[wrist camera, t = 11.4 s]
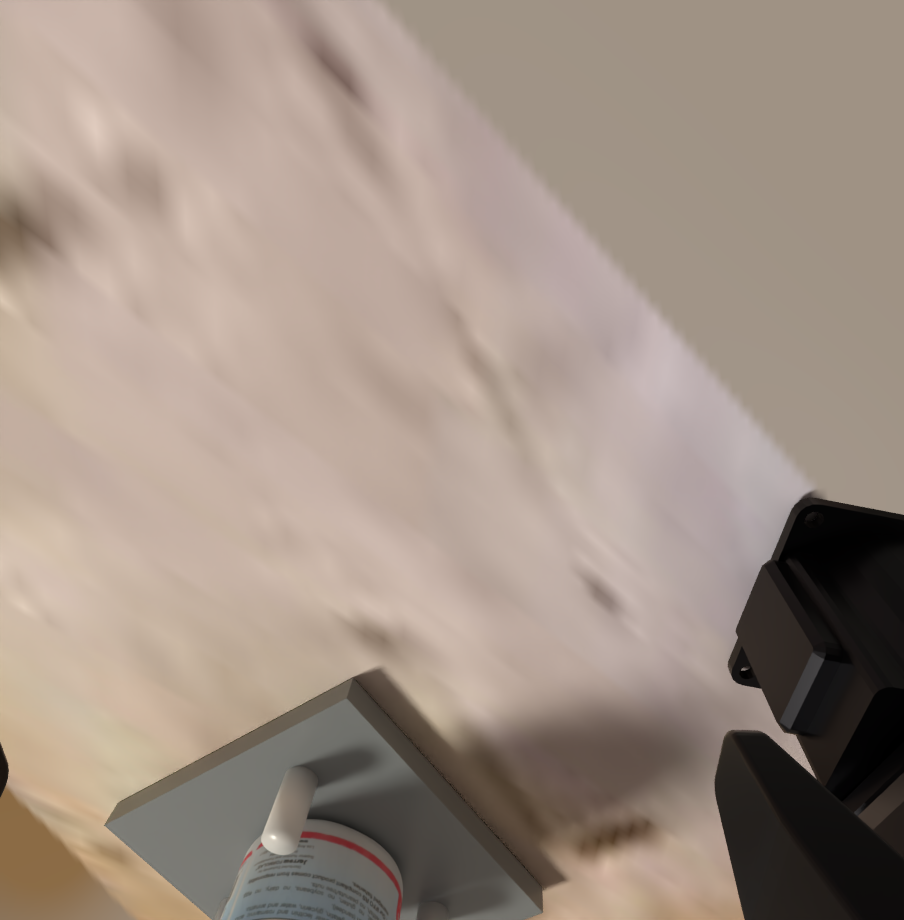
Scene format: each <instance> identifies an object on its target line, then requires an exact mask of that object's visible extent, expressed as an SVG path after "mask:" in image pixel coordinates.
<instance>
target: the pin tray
mask: <svg viewBox="0 0 904 920" xmlns="http://www.w3.org/2000/svg"><path fill="white" fill-rule="evenodd" d="M306 819H319V820H327V821H331V822H335V823H338V824H342V825H344V826H347V827H349V828H352V829H354V830H356V831H358V832H360V833H362V834H364V835H366V836H368V837H369V838H371V839H373V840H374V841H376V842H377V843H378V844H379V845H381V846H382V847H383V848H384V849H385V850H386V851H387V852H388V853H389V854H390V856H391V857H392V858H393V860H394V861H395V863H396V864H397V866H398V869H399V871H400V874H401V878H402V882H403V898H402V905H401V913H400V919H399V920H525V919H527V918H530V917H533V916H535V915H538V914H541V913H543V898H542V887H541V886H540V885H539V883H538V882H537V881H536V880H535V879H534V878H533V877H532V876H531V875H530V873H529V872H528V871H527V870H526V869H525V868H524V867H523V866H522V865H521V863H520V862H519V861H518V860H517V859H516V858H515V857H514V856H513V855H512V853H511V852H510V851H509V850H508V849H507V848H506V847H505V846H504V845H503V843H502V842H501V841H500V840H499V839H498V838H497V837H496V836H495V835H494V833H493V832H492V831H491V830H490V829H489V828H488V827H487V826H486V825H485V823H484V822H483V821H482V820H481V819H480V818H479V817H478V816H477V815H476V814H475V812H474V811H473V810H472V809H471V808H470V807H469V806H468V805H467V804H466V802H465V801H464V800H463V799H462V798H461V797H460V796H459V795H458V794H457V792H456V791H455V790H454V789H453V788H452V787H451V786H450V785H449V784H448V782H447V781H446V780H445V779H444V778H443V777H442V776H441V775H440V774H439V772H438V771H437V770H436V769H435V768H434V767H433V766H432V765H431V764H430V762H429V761H428V760H427V759H426V758H425V757H424V756H423V755H422V754H421V752H420V751H419V750H418V749H417V748H416V747H415V746H414V745H413V744H412V742H411V741H410V740H409V739H408V738H407V737H406V736H405V735H404V734H403V733H402V731H401V730H400V729H399V728H398V727H397V726H396V725H395V724H394V723H393V721H392V720H391V719H390V718H389V717H388V716H387V715H386V714H385V713H384V711H383V710H382V709H381V708H380V707H379V706H378V705H377V704H376V703H375V701H374V700H373V699H372V698H371V697H370V696H369V695H368V694H367V693H366V691H365V690H364V689H363V688H362V687H361V686H360V685H359V684H358V683H357V681H356V680H355V679H354V678H352V679H350V680H348V681H346V682H344V683H342V684H340V685H338V686H337V687H335V688H333V689H331V690H329V691H327V692H325V693H323V694H322V695H320V696H318V697H316V698H314V699H312V700H310V701H308V702H307V703H305V704H303V705H301V706H299V707H297V708H295V709H294V710H292V711H290V712H288V713H286V714H284V715H282V716H280V717H279V718H277V719H275V720H273V721H271V722H269V723H267V724H265V725H264V726H262V727H260V728H258V729H256V730H254V731H252V732H250V733H249V734H247V735H245V736H243V737H241V738H239V739H237V740H235V741H234V742H232V743H230V744H228V745H226V746H224V747H222V748H220V749H219V750H217V751H215V752H213V753H211V754H209V755H207V756H205V757H204V758H202V759H200V760H198V761H196V762H194V763H192V764H190V765H189V766H187V767H185V768H183V769H181V770H179V771H177V772H175V773H174V774H172V775H170V776H168V777H166V778H164V779H162V780H160V781H159V782H157V783H155V784H153V785H151V786H149V787H147V788H145V789H144V790H142V791H140V792H138V793H136V794H134V795H132V796H130V797H129V798H127V799H125V800H123V801H121V802H119V803H118V804H117V805H116V807H115V809H114V810H113V812H112V813H111V815H110V817H109V818H108V820H107V822H106V823H105V825H104V826H105V827H107V828H108V829H109V830H110V831H111V832H112V833H113V834H115V835H116V836H117V837H118V838H119V839H120V840H121V841H123V842H124V843H125V844H126V845H127V846H128V847H129V848H131V849H132V850H133V851H134V852H135V853H136V854H137V855H139V856H140V857H141V858H142V859H143V860H144V861H145V862H147V863H148V864H149V865H150V866H151V867H152V868H153V869H155V870H156V871H157V872H158V873H159V874H160V875H161V876H163V877H164V878H165V879H166V880H167V881H168V882H169V883H171V884H172V885H173V886H174V887H175V888H176V889H177V890H179V891H180V892H181V893H182V894H183V895H184V896H185V897H187V898H188V899H189V900H190V901H191V902H192V903H193V904H195V905H196V906H197V907H198V908H199V909H200V910H201V911H203V912H204V913H205V914H206V915H207V916H208V917H209V918H211V919H212V920H220V919H221V916H222V913H223V911H224V908H225V905H226V903H227V900H228V898H229V895H230V892H231V890H232V888H233V885H234V882H235V880H236V877H237V875H238V872H239V869H240V867H241V865H242V862H243V860H244V857H245V855H246V853H247V851H248V850H249V848H250V847H251V845H252V844H253V842H254V841H255V840H256V839H257V838H258V837H260V836H261V835H262V836H261V842H262V844H263V846H264V847H265V848H266V849H267V850H268V851H270V852H272V853H274V854H278V855H288V854H291V853H293V852H294V851H295V850H296V849H297V847H298V844H299V840H300V837H301V834H302V831H303V828H304V825H305V822H306Z"/></svg>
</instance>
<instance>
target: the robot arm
mask: <svg viewBox="0 0 904 920" xmlns="http://www.w3.org/2000/svg"><path fill="white" fill-rule="evenodd" d="M812 512H818V515H817V517H816V518H815V519H814V520H812V521H805V518H806V516H807V515H808V514H810V513H812ZM736 634H737V636H738V639H737V642H736V644H735V647H734V649H733V651H732V654H731V656H730V659H729V661H728V668H729V671H730V674H731V676H732V678H733V680H734V681H735V682H736V683H738V684H741V685H745V686H750V687H755V688H760V689H762V691H763V693H764V695H765V697H766V699H767V702H768V704H769V706H770V708H771V710H772V713H773V715H774V717H775V719H776V721H777V723H778V725H779V726H780V728H781V729H782V730H783V732H784V733H789V734H794V735H796V737H797V739H798V741H799V743H800V745H801V747H802V749H803V751H804V753H805V755H806V757H807V760H808V762H809V764H810V766H811V768H812V770H813V772H814V774H815V776H816V778H817V779H816V778H814V777H813V776H812V775H811V774H810V773H809V772H808V771H807V770H806V769H804V768H803V767H802V766H801V765H800V764H799V763H798V762H797V761H796V760H794V759H793V758H792V757H791V756H790V755H789V754H788V753H787V752H786V751H784V750H783V749H782V748H781V747H780V746H779V745H778V744H777V743H776V742H774V741H773V740H772V739H771V738H770V737H769V736H768V735H766V734H765V733H763V732H761V731H752V730H731V731H729V732H727V734H726V735H725V737H724V740H723V744H722V749H721V753H720V758H719V762H718V766H717V771H716V775H715V795H716V800H717V805H718V809H719V813H720V817H721V822H722V826H723V830H724V834H725V839H726V843H727V847H728V851H729V856H730V860H731V864H732V868H733V873H734V877H735V881H736V885H737V890H738V894H739V898H740V902H741V907H742V911H743V915H744V919H745V920H904V515H901V514H896V513H891V512H886V511H881V510H875V509H870V508H865V507H859V506H854V505H849V504H843V503H839V502H833V501H828V500H823V499H818V498H806V499H803V500H801V501H799V502H798V503H797V504H795V505H794V507H793V508H792V510H791V512H790V515H789V517H788V519H787V522H786V524H785V527H784V529H783V531H782V534H781V536H780V539H779V541H778V543H777V546H776V548H775V551H774V553H773V555H772V558H771V560H769V561H768V562H766V563H765V564H764V565H762V567H761V570H760V572H759V574H758V577H757V579H756V582H755V584H754V587H753V589H752V591H751V594H750V596H749V599H748V601H747V604H746V606H745V608H744V611H743V613H742V616H741V618H740V621H739V623H738V625H737V628H736ZM746 666H751V668H750V669H748V670H746V671H741V669H742V668H743V667H746ZM8 772H9V769H8V762H7V759H6V756H5V754H4V751H3V748H2V746H1V743H0V797H1V795H2V793H3V791H4V788H5V786H6V783H7V779H8Z"/></svg>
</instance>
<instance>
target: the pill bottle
mask: <svg viewBox="0 0 904 920" xmlns="http://www.w3.org/2000/svg"><path fill="white" fill-rule="evenodd" d="M261 836H262V835H261ZM261 836H260V837H258V838H257V839H256V840H255V841H254V842H253V844H252V845H251V847H250V848H249V850H248V851H247V853H246V855H245V857H244V860H243V862H242V865H241V867H240V869H239V872H238V875H237V877H236V880H235V882H234V885H233V888H232V890H231V892H230V895H229V898H228V900H227V903H226V905H225V908H224V911H223V913H222V916H221V919H220V920H399V919H400V913H401V905H402V898H403V882H402V878H401V874H400V871H399V869H398V866H397V864H396V863H395V861H394V860H393V858H392V857H391V856H390V854H389V853H388V852H387V851H386V850H385V849H384V848H383V847H382V846H381V845H379V844H378V843H377V842H376V841H374V840H373V839H371V838H369V837H368V836H366V835H364V834H362V833H360V832H358V831H356V830H354V829H352V828H349V827H347V826H344V825H342V824H338V823H335V822H331V821H327V820H319V819H306V822H305V825H304V828H303V831H302V834H301V837H300V840H299V844H298V847H297V849H296V850H295V851H294V852H293V853H291V854H288V855H278V854H274V853H272V852H270V851H268V850H267V849H266V848H265V847H264V846H263V844H262V842H261Z"/></svg>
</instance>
